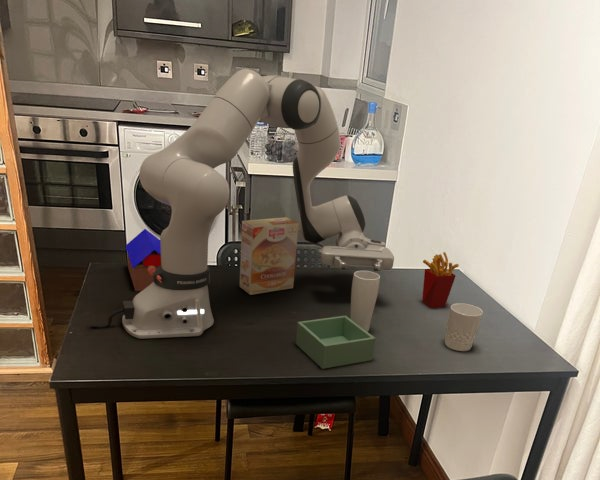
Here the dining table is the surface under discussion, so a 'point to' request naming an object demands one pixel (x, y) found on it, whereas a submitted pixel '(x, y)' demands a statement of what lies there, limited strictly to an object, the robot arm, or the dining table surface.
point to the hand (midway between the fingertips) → (360, 267)
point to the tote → (335, 341)
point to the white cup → (462, 326)
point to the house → (143, 258)
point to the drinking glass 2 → (364, 297)
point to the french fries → (437, 281)
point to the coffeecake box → (268, 254)
